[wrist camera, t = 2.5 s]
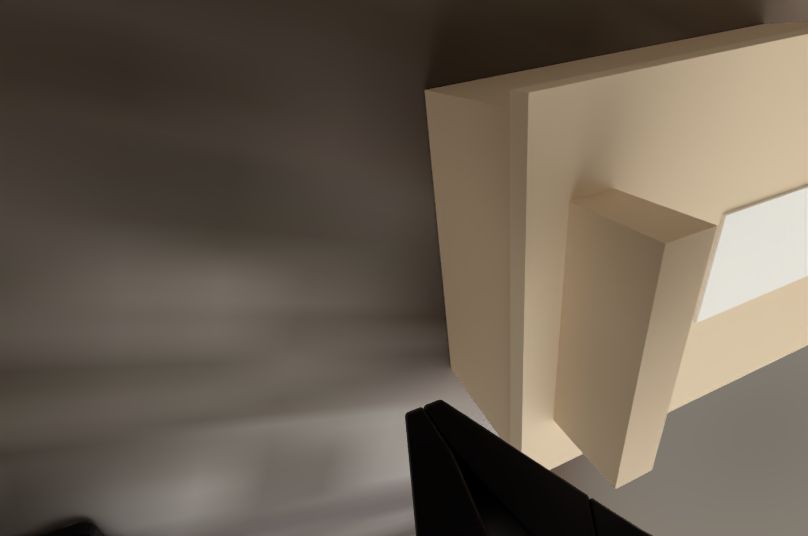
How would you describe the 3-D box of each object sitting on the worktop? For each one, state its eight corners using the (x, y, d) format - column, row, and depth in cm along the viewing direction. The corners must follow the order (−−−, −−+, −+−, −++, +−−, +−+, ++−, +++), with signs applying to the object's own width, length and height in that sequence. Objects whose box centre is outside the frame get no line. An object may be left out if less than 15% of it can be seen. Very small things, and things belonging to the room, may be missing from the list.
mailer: (451, 368, 18) (510, 451, 14) (424, 90, 12) (510, 107, 9) (699, 273, 21) (798, 319, 18) (765, 23, 16) (926, 16, 12)
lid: (510, 468, 14) (572, 557, 12) (509, 90, 8) (635, 109, 6) (806, 329, 18) (901, 375, 15) (953, -2, 12) (1146, -14, 9)
